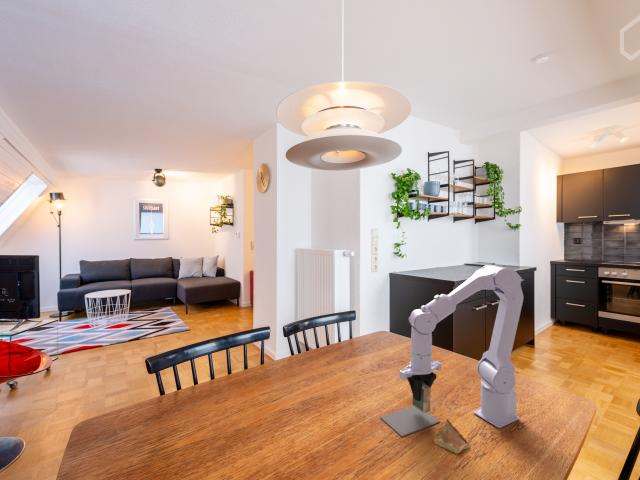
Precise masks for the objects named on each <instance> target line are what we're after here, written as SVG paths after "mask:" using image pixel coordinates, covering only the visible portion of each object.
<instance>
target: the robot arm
mask: <svg viewBox="0 0 640 480" xmlns="http://www.w3.org/2000/svg"><path fill="white" fill-rule="evenodd" d="M522 280H523V278H522V277H521V276H520V275H519V274H518V272H517V271H516V270H515V269H513V268H511V267H504V266H498V265H495V264H493V263H492V264H491V263H490V264H489V263H487V264H485V265H484V266H482V267H481V268H478V269H477V270H475V272H474V273H473V274H472V275H471V276H470V277H469V278H467V279H466V280H465V281H464V282H462V283H461V284H460V285H459V286H457V287H456V288H455V289H453V290H452V291H451V292H449V294H444V293H441V294H440V295H439V294H436V295H434V296H433V300H431V301H430V302H428V303H426V304H425V305H424V304H423V305H421V306H420V308H418V309H414V310H413V311H411V313H410V315H409V317H408V322H409V324H410V325H411V330H410V331H411V332H410V333H411V334H410V361H409V362H408V364H409V365H407V366H405V367H404V368H403V369H400V370H399V374H398V375H399V378H400V379H402V380H403V381H407V382H408V384H409V386H410V389H411V390H410V391H411V394H412V398H414V399H416V400H417V401H420V398H421V389H422V385H423V383H424V384H426V385H428V386H429V387H431V388H432V386H433V384H434V382H435V381H436V380H437V374H436V373H435V372H434V371H436V370H437V371H441V370H442V363H441V362H439V361H438V360H435V361H432V356H433V354H432V352H433V351H432V347H433V346H432V345H433V336H432V335H433V334H432V332H434V330H435V329H436V328H437V327H436V326H437V324H438V323H440V322H441V321H443V320H444V319H445V318H447V317H448V316H449V315H451V314H453V313H454V312H455V311H456V309H457V308H456V307H457V305H458V304H459V303H461V302H462V301H465V300H466V299H467V298H469V297H471V296H473V295H474V294H476V293H477V292H479V291H481V290H487V291H489V290H490V291H493V292H494V293H495V294H496V296H498V298H499V303H498V307H497V312H496V317H495V321H494V325H493V330H492V333H491V334H492V335H491V340H490V344H489V347H488V350H487V351H484V352H483V353H482V357H481V358H480V360H479V361H478V363H477V366H476V371H477V373H478V375H479V376H480V408H479V409H476V410H473V414H475V415H476V416H478V417H480V418H481V419H483V420H485V422H488V423H490V424H491V425H493V426H494V427H497V428H498V429H501V428H504V427H505V426H507V425H509V424H511V423H514V422H516V421H518V420H520V417H519V416H518V415H517V393H516V390H515V389H514V388H515V387H516V383H517V382H516V377H515V372H516V368H515V366H514V365H515V364H513V361H512V359H511V357H512V352H513V348H514V347H513V346H514V343H515V338H516V333H517V329H518V326H519V322H520V317H521V312H522V307H523V303H524V293H523V289H522V285H521V284H522Z"/></svg>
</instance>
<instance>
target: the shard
mask: <svg viewBox="0 0 640 480" xmlns="http://www.w3.org/2000/svg"><path fill="white" fill-rule="evenodd" d="M437 431H438V432H437V433H436V435H435V438H433V439H434V441H433V442H434V444H435V445H437V446H440V447H443V448H444V449H447V450H449V451H451V452H453V453H455V454H459V453H461V452H462V451H463V450H466V449H469V448H470V447H471V446H470V445H471V444H470V443H469V442H468V441H467V439H466V438H464V437H463V436H464V435H462V434H461V432H460V431H459V430H458V429H457V428H456V427H455V426H454V425H453V424H452V423H451V421H450V420H449V419H446V420H445V422H444V424H443V425H442V426H441V428H439V430H437Z"/></svg>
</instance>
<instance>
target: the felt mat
mask: <svg viewBox="0 0 640 480" xmlns="http://www.w3.org/2000/svg"><path fill="white" fill-rule="evenodd" d="M380 419H381V420H382V421H383V422H384V423H386V425H387V426H389V428H391V429H392V430H393V431H394V432H396V433H397V434H398V435H399V436H400V438H401V437H402V438H403V437H405V436H408V435H410V434H413V433H416V432H418V431H422V430H423V429H426V428H429V427H430V426H433V425H436V424H438V423H441V420H439V419H438V418H436V417H435V416H434V415H432V414H431V413H429V412H426V413H422V412H421V411H420V410H418V409H417V408H416V407H414V406H413V405H412V406H409V407H406V408H403V409H399V410H396V411H394V412H392V413H388V414H385V415H382V416H380Z"/></svg>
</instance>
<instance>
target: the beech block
mask: <svg viewBox="0 0 640 480" xmlns="http://www.w3.org/2000/svg"><path fill="white" fill-rule="evenodd" d="M431 388H432V386H431V387H429V386H428V385H426V384H424V383H423V385H422V389H421V398H420V401H417V400H416V399H414V398H413V397H412V402H411V405H412V406H414V407H416V408H417V409H418V410H420V411H421V412H422V413H426V412H428V413H429V412H431V392H432V391H431Z"/></svg>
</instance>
